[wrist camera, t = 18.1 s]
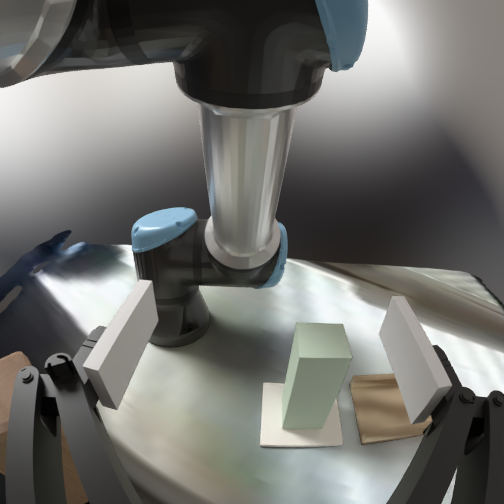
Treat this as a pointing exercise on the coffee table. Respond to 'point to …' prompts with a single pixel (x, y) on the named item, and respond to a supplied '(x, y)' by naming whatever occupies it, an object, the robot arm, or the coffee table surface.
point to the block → (3, 379)
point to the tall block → (314, 374)
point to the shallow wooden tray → (382, 410)
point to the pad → (294, 437)
